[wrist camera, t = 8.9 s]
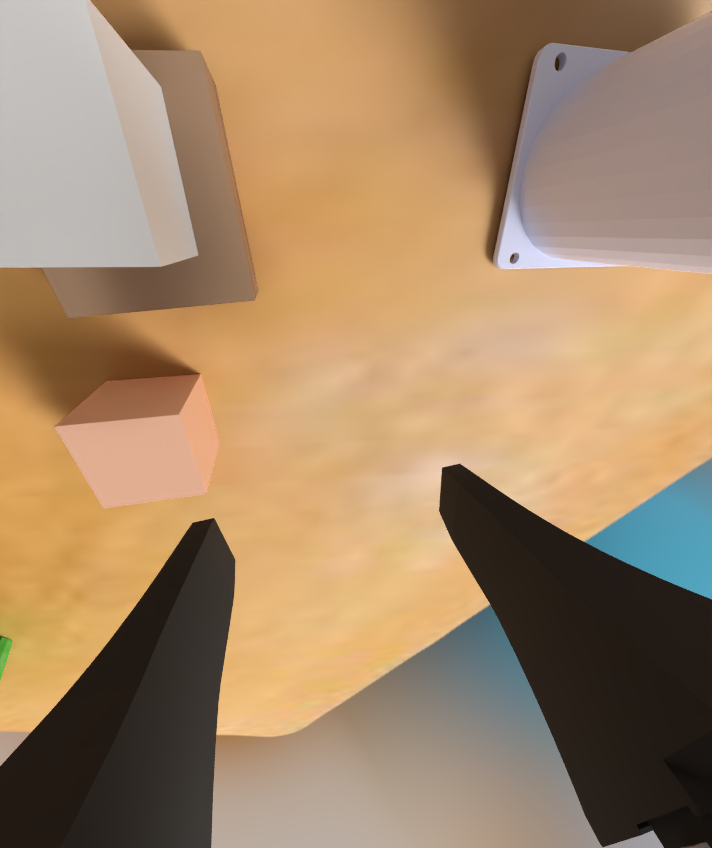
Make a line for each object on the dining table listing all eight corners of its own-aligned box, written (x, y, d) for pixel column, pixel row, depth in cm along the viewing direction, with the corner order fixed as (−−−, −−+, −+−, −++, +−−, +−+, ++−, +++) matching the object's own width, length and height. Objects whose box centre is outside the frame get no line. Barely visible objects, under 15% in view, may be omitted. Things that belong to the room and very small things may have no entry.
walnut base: (217, 89, 12) (200, 51, 9) (258, 289, 15) (254, 300, 13) (5, 90, 11) (-78, 46, 8) (104, 303, 14) (67, 318, 12)
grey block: (160, 86, 9) (83, -9, 6) (198, 255, 12) (161, 266, 8) (-17, 70, 9) (-246, -54, 5) (61, 255, 11) (-51, 267, 7)
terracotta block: (201, 373, 17) (178, 414, 13) (220, 442, 19) (206, 494, 15) (107, 380, 16) (54, 426, 12) (139, 451, 18) (103, 508, 15)
